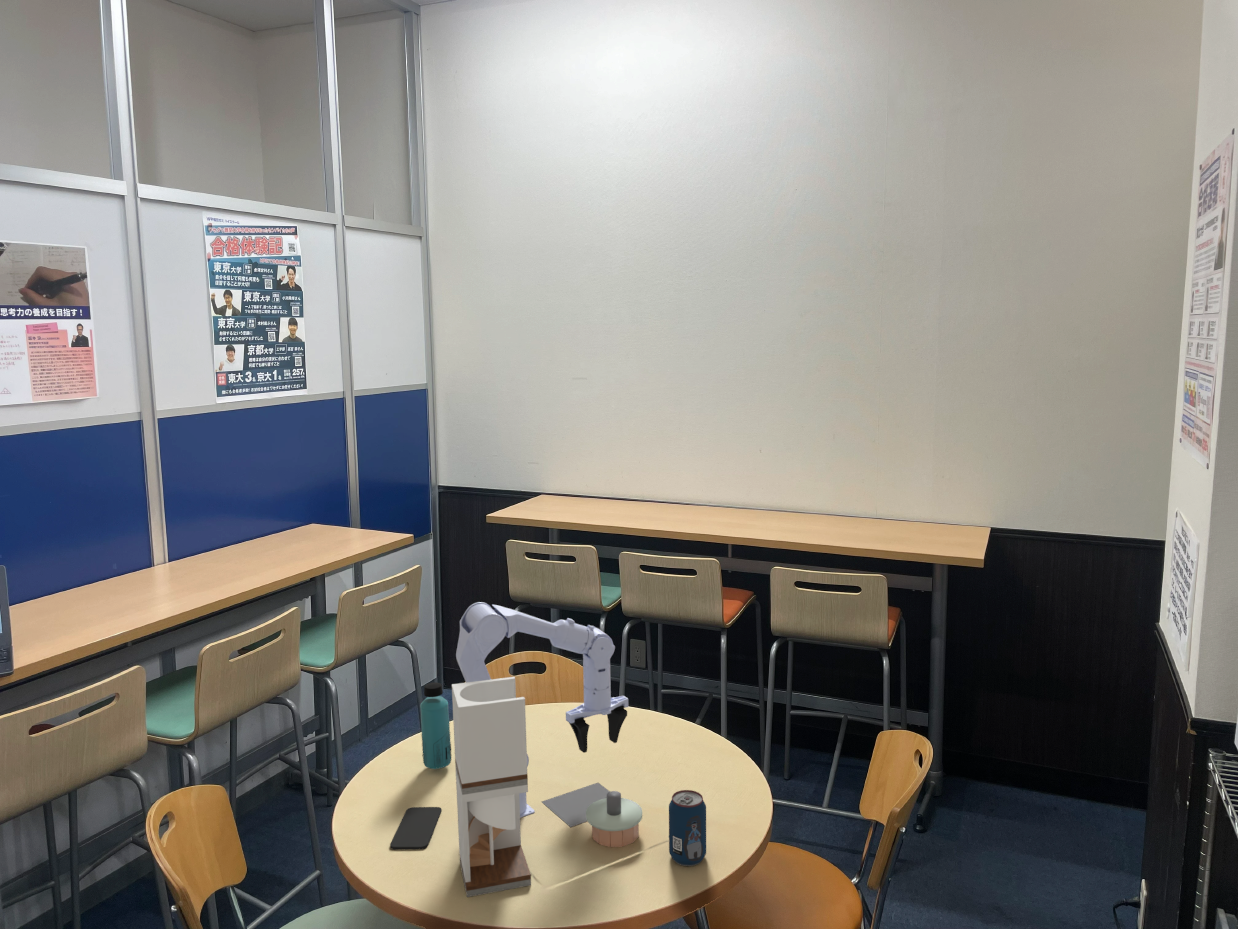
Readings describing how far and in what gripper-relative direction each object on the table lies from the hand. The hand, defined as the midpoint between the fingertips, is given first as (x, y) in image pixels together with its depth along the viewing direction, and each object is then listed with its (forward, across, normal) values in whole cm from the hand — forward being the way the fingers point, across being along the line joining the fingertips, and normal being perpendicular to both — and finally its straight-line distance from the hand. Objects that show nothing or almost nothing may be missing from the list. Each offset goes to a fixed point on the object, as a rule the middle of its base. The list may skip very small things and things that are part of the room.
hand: (598, 746), depth 194 cm
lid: (+6, -7, -17) cm, 19 cm away
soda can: (+10, 0, -31) cm, 33 cm away
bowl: (+10, -7, -17) cm, 21 cm away
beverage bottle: (+10, -25, +29) cm, 40 cm away
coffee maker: (+10, -32, -15) cm, 37 cm away
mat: (+10, -6, -4) cm, 12 cm away
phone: (+10, -38, +8) cm, 40 cm away
